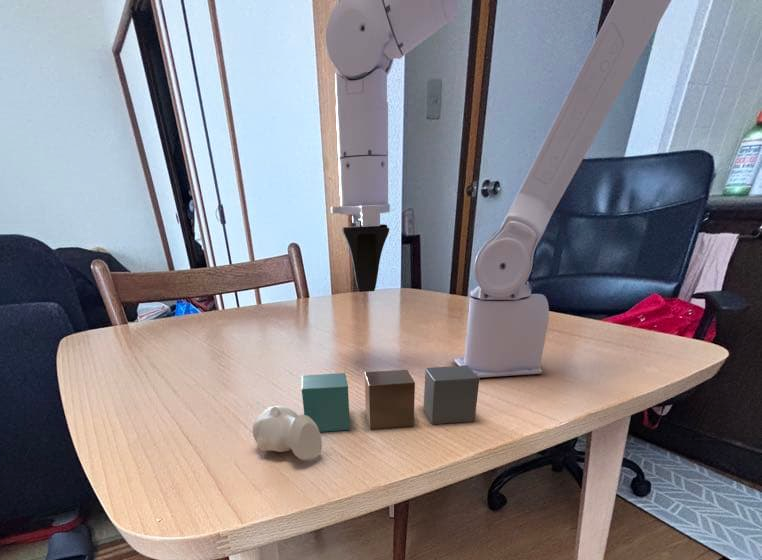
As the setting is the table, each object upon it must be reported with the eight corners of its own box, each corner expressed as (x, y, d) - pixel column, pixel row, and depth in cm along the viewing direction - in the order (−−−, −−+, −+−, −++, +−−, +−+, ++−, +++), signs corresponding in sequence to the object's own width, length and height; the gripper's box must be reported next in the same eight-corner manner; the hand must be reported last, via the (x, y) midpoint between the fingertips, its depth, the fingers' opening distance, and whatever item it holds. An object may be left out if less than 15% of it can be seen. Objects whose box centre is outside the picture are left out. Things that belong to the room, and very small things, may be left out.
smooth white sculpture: (254, 454, 47) (295, 427, 48) (290, 483, 41) (335, 452, 42) (233, 417, 44) (277, 389, 45) (269, 443, 38) (318, 411, 39)
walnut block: (406, 410, 52) (407, 369, 49) (413, 426, 48) (415, 382, 45) (365, 413, 51) (364, 372, 49) (370, 429, 48) (369, 385, 45)
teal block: (347, 414, 51) (345, 372, 49) (350, 430, 48) (347, 386, 45) (306, 416, 51) (302, 375, 49) (306, 433, 48) (301, 389, 45)
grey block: (463, 406, 52) (467, 365, 49) (474, 421, 48) (479, 377, 46) (423, 409, 52) (425, 367, 49) (431, 424, 48) (434, 380, 45)
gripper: (326, 164, 59) (333, 284, 67) (330, 154, 47) (339, 301, 55) (381, 161, 60) (382, 282, 68) (399, 151, 48) (397, 298, 56)
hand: (366, 290), depth 62 cm, fingers closed
